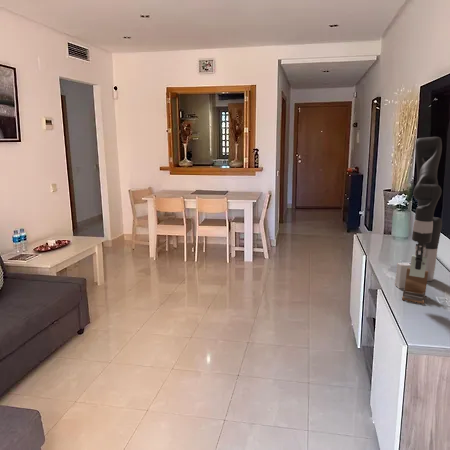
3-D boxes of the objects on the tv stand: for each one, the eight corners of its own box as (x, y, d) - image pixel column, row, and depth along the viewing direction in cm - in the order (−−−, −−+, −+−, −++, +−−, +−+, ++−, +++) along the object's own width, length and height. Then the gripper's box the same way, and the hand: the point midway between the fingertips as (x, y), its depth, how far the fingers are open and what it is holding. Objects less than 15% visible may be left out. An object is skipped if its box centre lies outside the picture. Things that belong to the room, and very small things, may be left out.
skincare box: (405, 285, 205) (408, 262, 202) (410, 288, 200) (413, 265, 198) (394, 285, 204) (396, 262, 201) (398, 288, 200) (401, 265, 197)
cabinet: (404, 291, 197) (407, 267, 194) (425, 295, 192) (428, 270, 190) (401, 300, 186) (404, 274, 183) (423, 304, 182) (427, 278, 179)
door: (409, 273, 183) (412, 254, 181) (424, 276, 181) (427, 256, 178) (409, 276, 180) (411, 256, 178) (424, 278, 178) (426, 258, 176)
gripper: (414, 225, 184) (409, 262, 188) (411, 232, 172) (407, 271, 176) (432, 227, 180) (428, 265, 184) (431, 234, 168) (426, 274, 172)
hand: (418, 268), depth 180 cm, fingers closed on door, 2 cm apart
